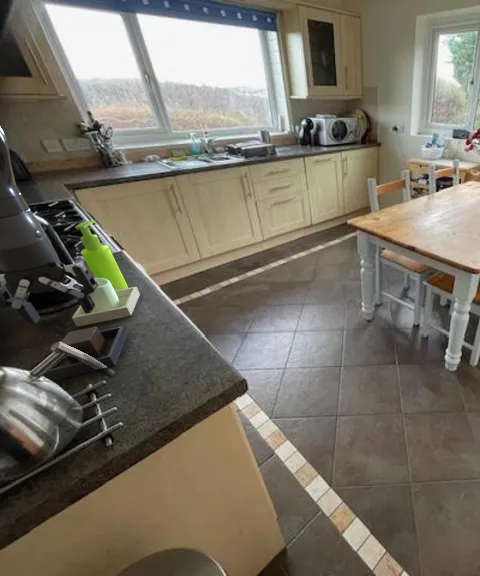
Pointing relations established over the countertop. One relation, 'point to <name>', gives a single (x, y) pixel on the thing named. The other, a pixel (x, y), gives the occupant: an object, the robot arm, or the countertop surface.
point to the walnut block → (86, 342)
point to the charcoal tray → (109, 358)
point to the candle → (104, 295)
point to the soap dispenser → (100, 258)
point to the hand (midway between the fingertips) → (63, 316)
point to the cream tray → (126, 308)
